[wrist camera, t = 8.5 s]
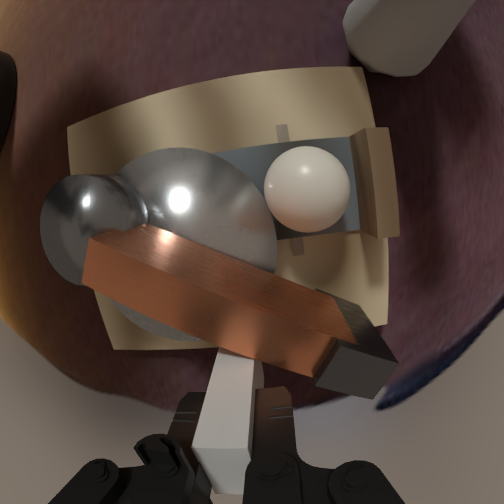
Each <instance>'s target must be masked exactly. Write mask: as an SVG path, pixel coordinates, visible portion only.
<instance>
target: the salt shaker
mask: <svg viewBox="0 0 504 504" xmlns="http://www.w3.org/2000/svg"><path fill="white" fill-rule="evenodd" d="M475 1H476V0H354V1H353V2H352V3H351V4H350V5H349V6H348V8H347V11H346V13H345V16H344V19H343V29H344V33H345V37H346V42H347V45H348V49H349V52H350V53H351V54H352V55H353V56H354V57H355V58H356V59H357V60H358V61H359V62H360V63H361V64H362V65H363V66H364V67H365V68H366V69H367V70H368V71H369V72H375V73H383V74H387V75H391V76H395V77H402V76H414V75H417V74H419V73H420V72H421V71H422V70H423V69H425V68H426V67H427V66H428V65H429V64H430V63H431V61H432V60H433V58H434V57H435V56H436V54H437V53H438V52H439V50H440V49H441V48H442V46H443V45H444V43H445V42H446V41H447V39H448V38H449V36H450V35H451V34H452V32H453V31H454V29H455V28H456V27H457V25H458V24H459V22H460V21H461V20H462V18H463V17H464V15H465V14H466V12H467V11H468V10H469V9H470V7H471V6H472V5H473V3H474V2H475ZM493 1H494V0H493Z"/></svg>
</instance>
